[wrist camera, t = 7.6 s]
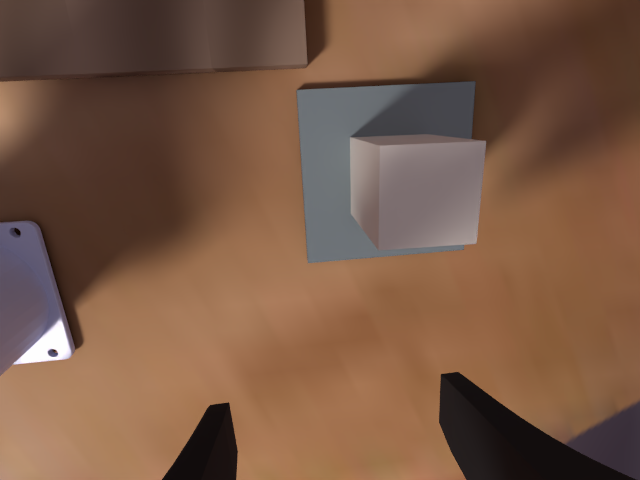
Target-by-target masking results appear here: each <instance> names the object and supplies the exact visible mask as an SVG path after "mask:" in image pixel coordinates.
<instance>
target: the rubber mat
mask: <svg viewBox="0 0 640 480" xmlns="http://www.w3.org/2000/svg"><path fill="white" fill-rule="evenodd" d="M475 83H476V81H470V82H450V83H429V84H408V85H388V86H367V87H346V88H326V89H305V90H297V106H298V121H299V136H300V151H301V167H302V182H303V197H304V212H305V227H306V243H307V258H308V263H315V262H326V261H338V260H349V259H361V258H373V257H384V256H396V255H407V254H419V253H431V252H442V251H454V250H464V245H451V246H437V247H422V248H408V249H393V250H379V251H378V249H377V248H376V247H375V245H374V244H373V243H372V241H371V240H370V239H369V237H368V236H367V235H366V233H365V232H364V231H363V229H362V228H361V227H360V225H359V224H358V223H357V221H356V220H355V219H354V217H353V216H352V215H351V179H350V137H369V136H393V135H417V134H430V135H439V136H447V137H456V138H465V139H472V125H473V111H474V97H475Z"/></svg>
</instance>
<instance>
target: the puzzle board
mask: <svg viewBox="0 0 640 480" xmlns="http://www.w3.org/2000/svg"><path fill="white" fill-rule="evenodd" d="M306 66H307V46H306V29H305V11H304V0H0V81H23V80H46V79H69V78H92V77H115V76H137V75H160V74H183V73H206V72H229V71H252V70H275V69H297V68H306Z"/></svg>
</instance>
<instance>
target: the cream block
mask: <svg viewBox="0 0 640 480" xmlns="http://www.w3.org/2000/svg"><path fill="white" fill-rule="evenodd" d="M485 149H486V141H482V140H473V139H465V138H456V137H447V136H439V135H430V134H417V135H393V136H369V137H350V179H351V215H352V216H353V217H354V219H355V220H356V221H357V223H358V224H359V225H360V227H361V228H362V229H363V231H364V232H365V233H366V235H367V236H368V237H369V239H370V240H371V241H372V243H373V244H374V245H375V247H376V248H377V249H378V251H379V250H393V249H408V248H422V247H437V246H451V245H466V244H476V241H477V231H478V221H479V211H480V200H481V190H482V180H483V170H484V159H485Z"/></svg>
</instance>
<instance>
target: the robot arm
mask: <svg viewBox="0 0 640 480" xmlns="http://www.w3.org/2000/svg"><path fill="white" fill-rule="evenodd" d="M15 228H17V229H19V230H20V232H21V235H18V234H16V232H15ZM52 349H55V350H57V352H58V353H55V352H53V350H52ZM74 352H75V346H74V343H73V339H72V336H71V332H70V329H69V326H68V322H67V319H66V315H65V312H64V308H63V305H62V302H61V298H60V295H59V291H58V288H57V285H56V281H55V278H54V274H53V271H52V267H51V264H50V261H49V257H48V254H47V250H46V247H45V243H44V240H43V237H42V233H41V230H40V228H39V226H38V225H37V224H36V223H35V222H32V221H14V222H0V376H1V375H2V374H3V373H4V372H5V371H6V370H7V369H8V368H10V367H11V366H12V365H14V364H24V363H33V362H43V361H53V360H63V359H68V358H70V357H71V356H72V355H73V354H74ZM439 423H440V425H441V428H442V430H443V433H444V435H445V438H446V440H447V443H448V445H449V447H450V450H451V452H452V454H453V456H454V458H455V460H456V461H457V463H458V465H459V467H460V469H461V470H462V472H463V474H464V476H465V478H466V480H635V479H633V478H631V477H629V476H627V475H624V474H622V473H620V472H618V471H616V470H614V469H611V468H609V467H607V466H605V465H603V464H601V463H599V462H597V461H595V460H593V459H591V458H589V457H587V456H585V455H583V454H581V453H579V452H577V451H575V450H574V449H572V448H570V447H568V446H567V445H565V444H563V443H561V442H559V441H558V440H556V439H554V438H552V437H551V436H549V435H547V434H546V433H544V432H543V431H541V430H539V429H538V428H536V427H535V426H533V425H532V424H530V423H528V422H527V421H525V420H524V419H522V418H521V417H519V416H518V415H516V414H515V413H514V412H512V411H511V410H509V409H508V408H506V407H505V406H504V405H502V404H501V403H499V402H498V401H497V400H495V399H494V398H492V397H491V396H490V395H488V394H487V393H486V392H484V391H483V390H482V389H480V388H479V387H478V386H476V385H475V384H474V383H472V382H471V381H470V380H468V379H467V378H466V377H464V376H463V375H462V374H460V373H459V372H454V373H447V374H441V386H440V413H439ZM237 453H238V451H237V445H236V439H235V434H234V428H233V422H232V417H231V411H230V405H229V403H222V404H215V405H210V406H209V407H208V408H207V410H206V412H205V413H204V415H203V417H202V419H201V421H200V422H199V424H198V426H197V427H196V429H195V431H194V432H193V434H192V436H191V437H190V439H189V441H188V442H187V444H186V445H185V447H184V448H183V450H182V451H181V453H180V454H179V456H178V458H177V459H176V461H175V462H174V464H173V465H172V466H171V468H170V469H169V471H168V472H167V473H166V475H165V476H164V478H163V479H162V480H236V472H237Z"/></svg>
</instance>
